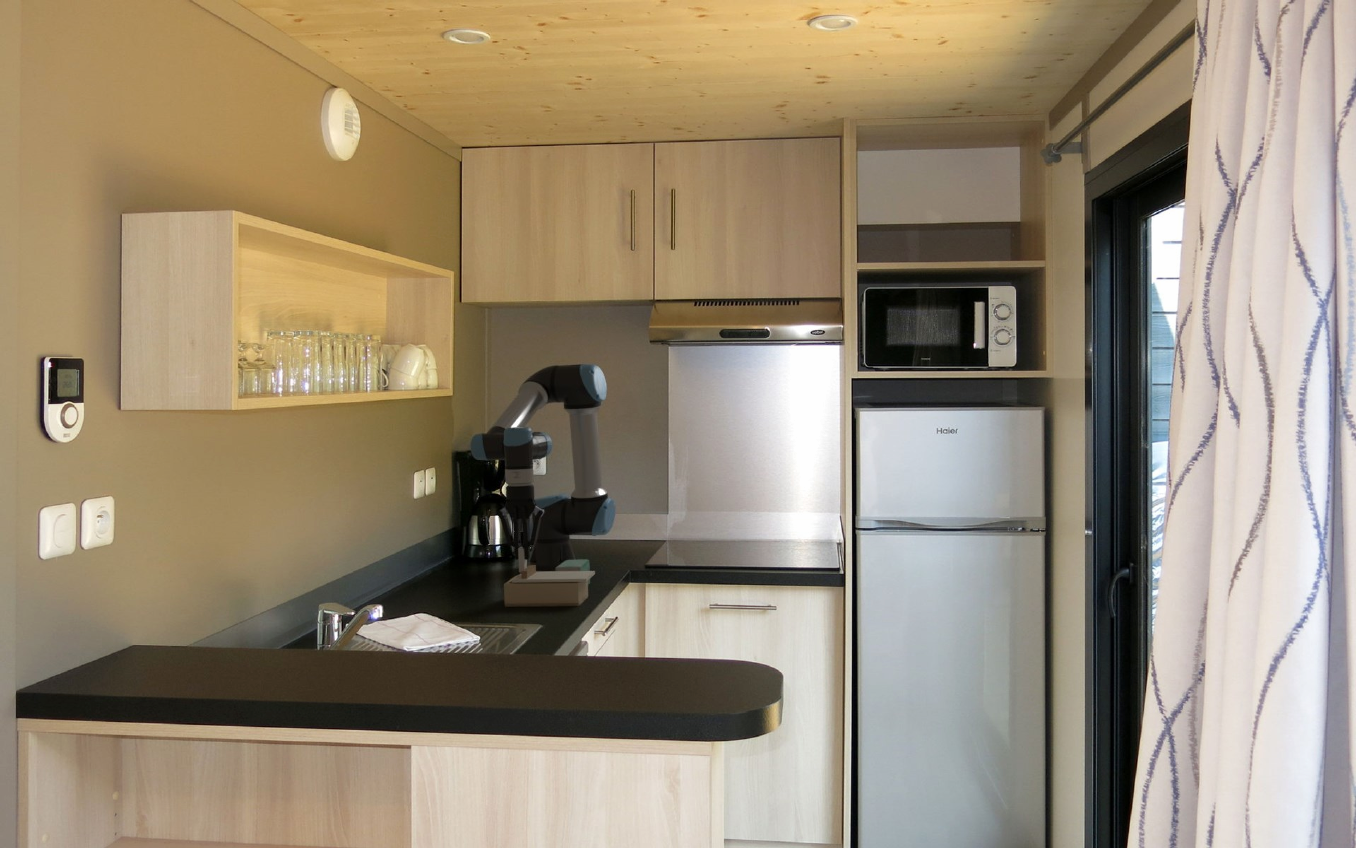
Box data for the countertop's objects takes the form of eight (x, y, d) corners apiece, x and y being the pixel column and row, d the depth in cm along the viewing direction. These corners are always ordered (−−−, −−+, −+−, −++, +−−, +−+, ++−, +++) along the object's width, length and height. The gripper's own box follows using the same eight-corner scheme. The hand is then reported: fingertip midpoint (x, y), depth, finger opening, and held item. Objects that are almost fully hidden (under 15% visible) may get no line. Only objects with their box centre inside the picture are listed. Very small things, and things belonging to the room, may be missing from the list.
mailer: (517, 597, 281) (516, 575, 281) (588, 596, 279) (587, 574, 278) (504, 606, 269) (503, 584, 269) (578, 606, 267) (578, 583, 267)
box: (590, 583, 298) (589, 558, 297) (581, 593, 284) (580, 566, 284) (566, 584, 299) (565, 558, 298) (555, 593, 285) (554, 567, 285)
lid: (523, 574, 280) (523, 564, 280) (594, 573, 278) (594, 563, 278) (512, 582, 269) (511, 572, 269) (586, 581, 267) (586, 571, 267)
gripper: (492, 486, 271) (495, 574, 271) (539, 485, 269) (543, 574, 270) (500, 483, 278) (503, 569, 279) (546, 482, 276) (550, 568, 277)
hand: (523, 571), depth 274 cm, fingers closed
